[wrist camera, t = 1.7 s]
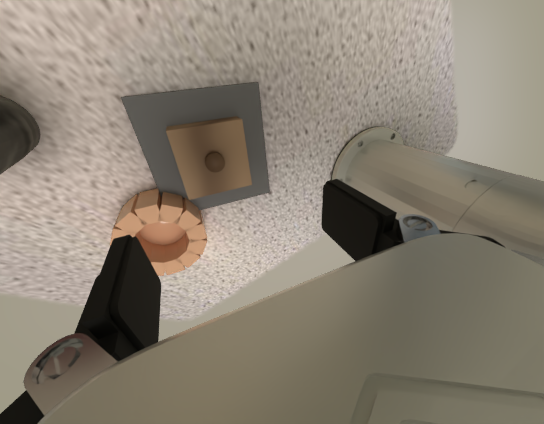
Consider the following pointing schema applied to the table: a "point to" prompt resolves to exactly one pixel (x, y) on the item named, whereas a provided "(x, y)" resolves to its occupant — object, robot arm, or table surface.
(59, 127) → the table surface
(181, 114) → the mat
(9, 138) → the beverage cup
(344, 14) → the table surface
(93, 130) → the table surface
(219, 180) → the lid
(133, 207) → the bowl
